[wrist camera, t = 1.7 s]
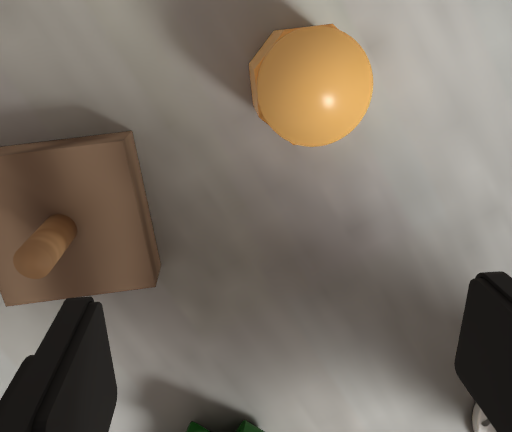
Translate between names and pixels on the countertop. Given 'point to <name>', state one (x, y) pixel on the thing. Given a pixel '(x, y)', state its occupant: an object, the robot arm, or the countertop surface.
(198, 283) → the countertop surface
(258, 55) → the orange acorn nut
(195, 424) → the clamp
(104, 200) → the post block
